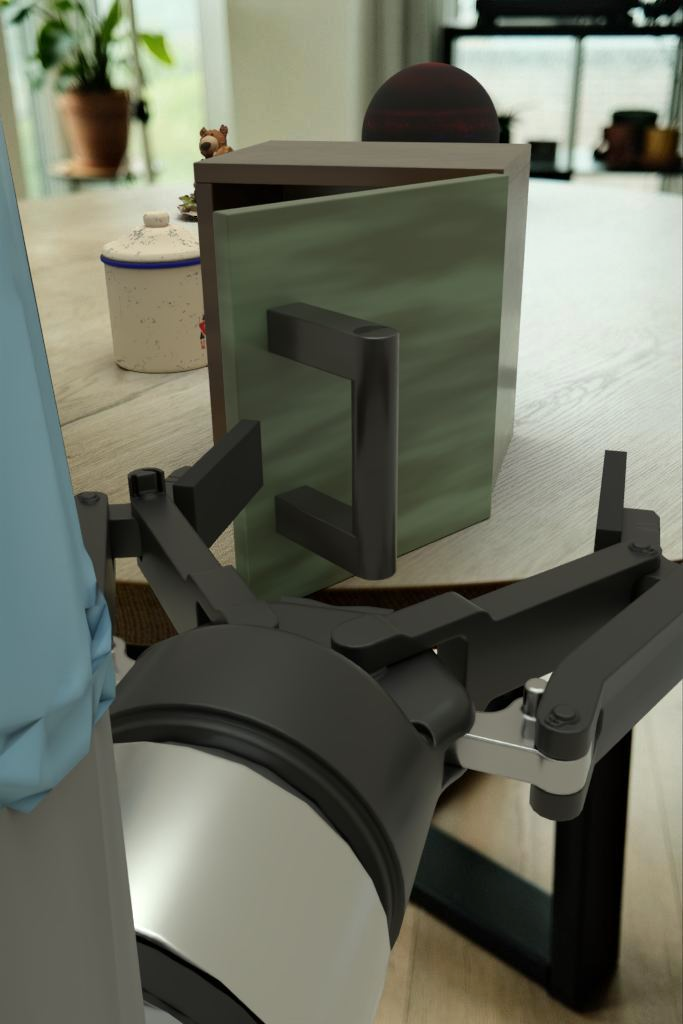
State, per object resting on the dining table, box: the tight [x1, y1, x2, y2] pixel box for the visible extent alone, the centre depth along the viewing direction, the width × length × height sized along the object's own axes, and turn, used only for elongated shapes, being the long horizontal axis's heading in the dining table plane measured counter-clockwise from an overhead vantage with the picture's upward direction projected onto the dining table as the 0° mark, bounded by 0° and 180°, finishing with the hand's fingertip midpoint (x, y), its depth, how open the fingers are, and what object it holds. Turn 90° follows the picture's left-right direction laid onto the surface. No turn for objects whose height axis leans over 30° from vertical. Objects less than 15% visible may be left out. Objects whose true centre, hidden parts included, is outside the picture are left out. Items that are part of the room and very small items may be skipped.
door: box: [213, 173, 509, 602], centre depth 45 cm, size 7×16×18 cm, turn 131°
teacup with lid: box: [99, 210, 208, 374], centre depth 82 cm, size 12×9×12 cm
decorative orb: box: [361, 62, 500, 143], centre depth 148 cm, size 20×20×20 cm
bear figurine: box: [176, 124, 235, 217], centre depth 146 cm, size 14×15×12 cm
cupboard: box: [192, 139, 532, 493], centre depth 59 cm, size 12×16×18 cm
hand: (424, 468), depth 38 cm, fingers open, 13 cm apart
